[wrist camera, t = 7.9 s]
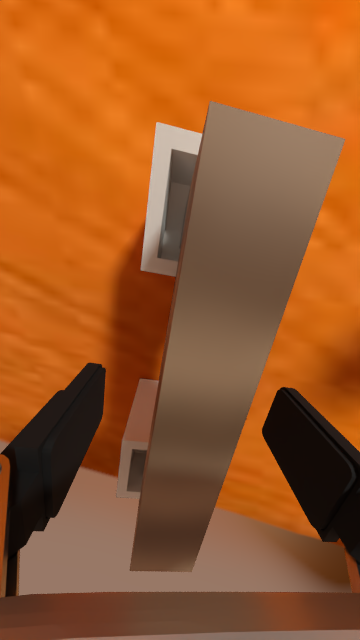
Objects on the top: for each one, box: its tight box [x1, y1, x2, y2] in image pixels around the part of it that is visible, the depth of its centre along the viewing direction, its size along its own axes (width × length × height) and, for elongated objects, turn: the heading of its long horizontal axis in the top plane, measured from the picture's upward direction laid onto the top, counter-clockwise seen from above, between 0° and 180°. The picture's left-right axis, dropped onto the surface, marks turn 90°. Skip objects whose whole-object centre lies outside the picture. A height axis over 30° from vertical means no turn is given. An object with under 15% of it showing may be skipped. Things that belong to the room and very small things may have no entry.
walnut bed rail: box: [130, 101, 345, 572], centre depth 10 cm, size 20×4×7 cm, turn 170°
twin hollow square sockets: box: [116, 122, 202, 499], centre depth 14 cm, size 24×7×7 cm, turn 170°
